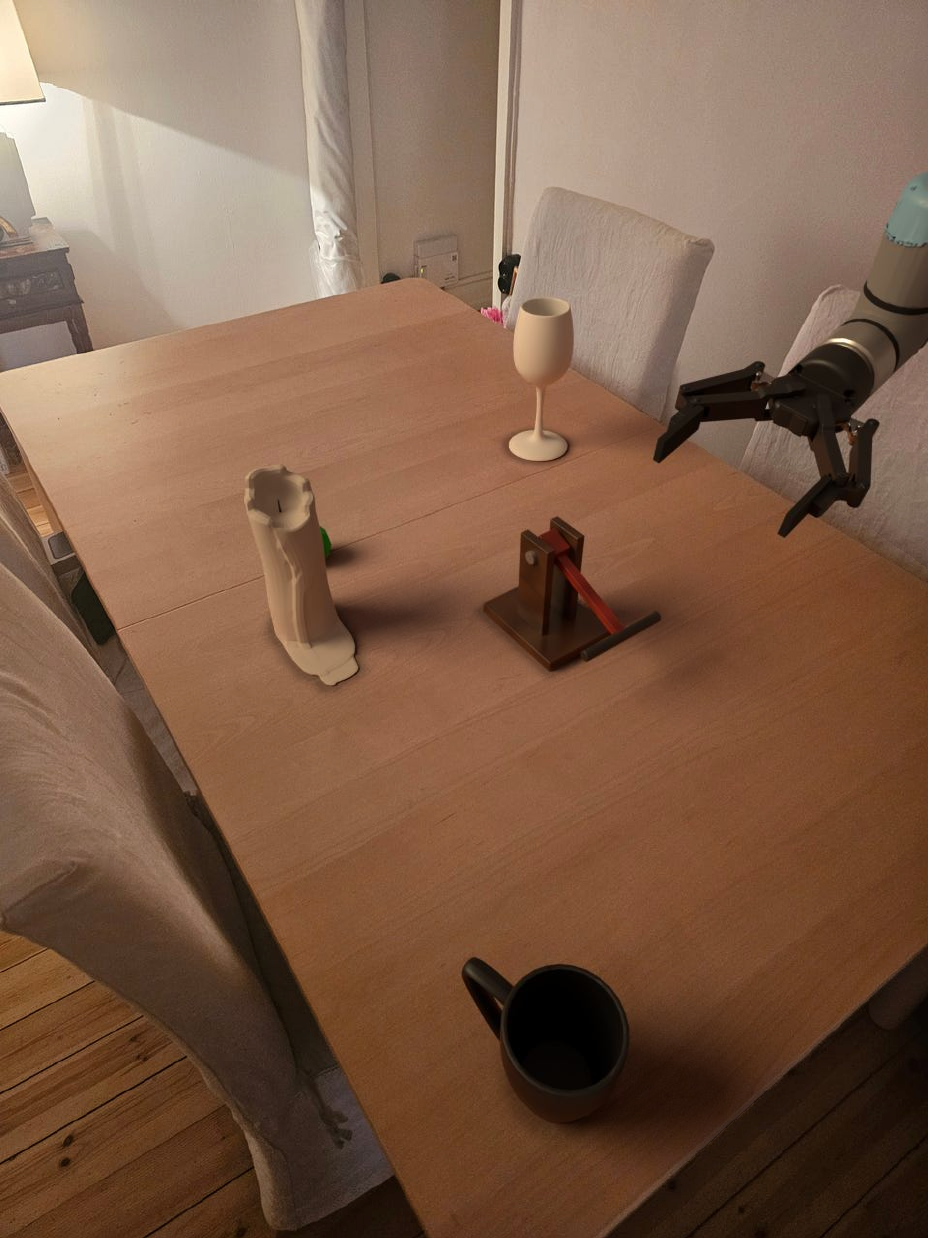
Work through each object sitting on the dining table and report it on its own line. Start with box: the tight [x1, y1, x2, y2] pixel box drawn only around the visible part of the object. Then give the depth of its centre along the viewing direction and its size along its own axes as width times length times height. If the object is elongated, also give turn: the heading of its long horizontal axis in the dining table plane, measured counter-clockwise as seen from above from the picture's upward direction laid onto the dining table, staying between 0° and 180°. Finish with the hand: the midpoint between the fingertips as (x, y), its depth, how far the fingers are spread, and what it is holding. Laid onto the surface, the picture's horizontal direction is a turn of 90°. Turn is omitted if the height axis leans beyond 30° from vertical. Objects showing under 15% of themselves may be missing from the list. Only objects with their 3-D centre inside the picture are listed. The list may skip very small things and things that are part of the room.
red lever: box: [538, 528, 662, 663], centre depth 84 cm, size 14×10×2 cm
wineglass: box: [508, 296, 575, 462], centre depth 115 cm, size 9×9×21 cm
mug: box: [461, 956, 631, 1124], centre depth 56 cm, size 8×12×10 cm
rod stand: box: [482, 515, 612, 672], centre depth 89 cm, size 12×9×13 cm
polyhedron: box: [319, 525, 332, 559], centre depth 101 cm, size 5×5×5 cm
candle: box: [243, 463, 359, 686], centre depth 85 cm, size 7×14×20 cm, turn 32°
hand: (719, 487), depth 74 cm, fingers open, 13 cm apart
